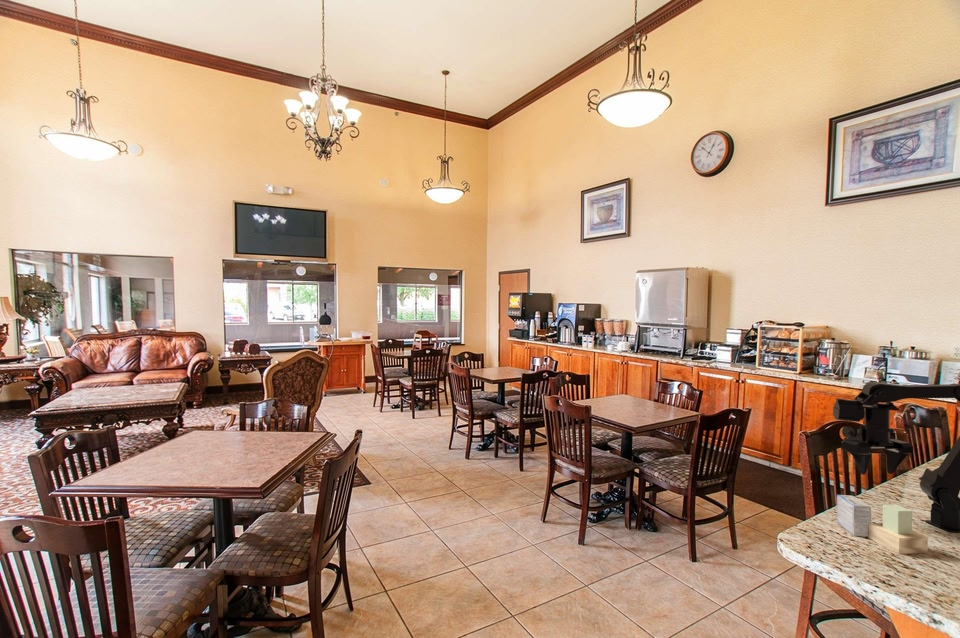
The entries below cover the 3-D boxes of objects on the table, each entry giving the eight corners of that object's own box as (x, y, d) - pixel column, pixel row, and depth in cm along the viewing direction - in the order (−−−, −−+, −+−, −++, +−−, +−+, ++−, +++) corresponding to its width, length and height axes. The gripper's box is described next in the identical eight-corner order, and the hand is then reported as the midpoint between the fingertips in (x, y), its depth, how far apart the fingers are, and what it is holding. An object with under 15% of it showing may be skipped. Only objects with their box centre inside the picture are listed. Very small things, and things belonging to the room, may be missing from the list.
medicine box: (871, 538, 119) (872, 506, 119) (853, 536, 120) (853, 505, 120) (853, 525, 127) (853, 495, 127) (836, 523, 128) (836, 494, 128)
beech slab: (895, 537, 120) (895, 523, 120) (927, 552, 112) (927, 537, 112) (868, 538, 119) (868, 523, 119) (899, 553, 111) (899, 538, 111)
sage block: (896, 526, 118) (896, 504, 118) (911, 533, 114) (912, 510, 114) (882, 526, 117) (882, 504, 118) (897, 534, 113) (898, 511, 114)
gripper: (877, 417, 142) (877, 464, 142) (825, 417, 140) (825, 465, 140) (915, 425, 131) (914, 477, 131) (859, 426, 129) (858, 478, 129)
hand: (876, 474), depth 133 cm, fingers open, 9 cm apart
